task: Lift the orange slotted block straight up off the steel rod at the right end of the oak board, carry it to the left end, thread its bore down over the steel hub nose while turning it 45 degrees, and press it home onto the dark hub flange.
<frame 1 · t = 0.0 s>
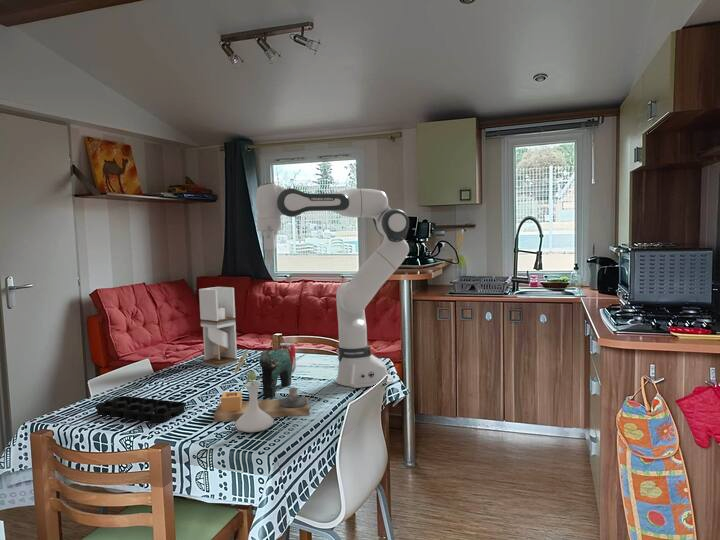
hand: (270, 262, 195), 48 cm above the table, tool pointing down, fingers open, 8 cm apart
flower in vase: (253, 430, 154), on the table
white block sculpture: (220, 364, 237), on the table
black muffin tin: (141, 415, 171), on the table
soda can: (287, 371, 220), on the table
green animal figurine: (276, 391, 192), on the table
base board: (263, 411, 170), on the table
orange slotted block: (232, 408, 168), point 2 cm above the table, touching base board
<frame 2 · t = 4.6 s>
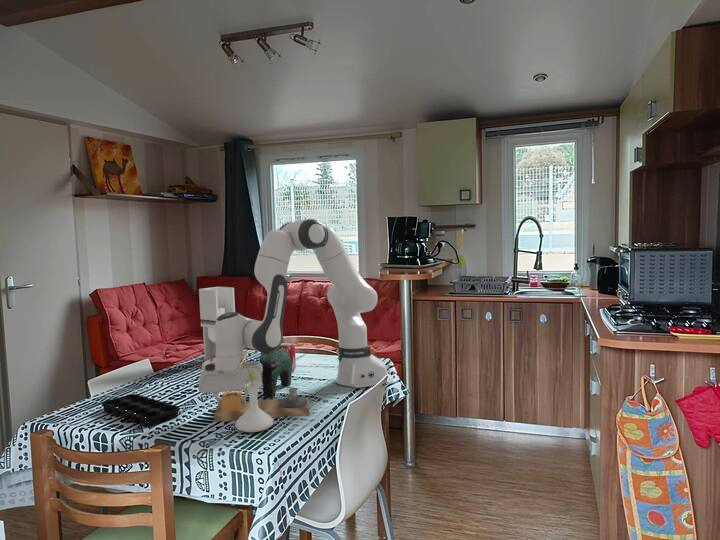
hand: (231, 404, 168), 3 cm above the table, tool pointing down, fingers closed on orange slotted block, 6 cm apart
orange slotted block: (232, 408, 168), point 2 cm above the table, touching base board, gripper
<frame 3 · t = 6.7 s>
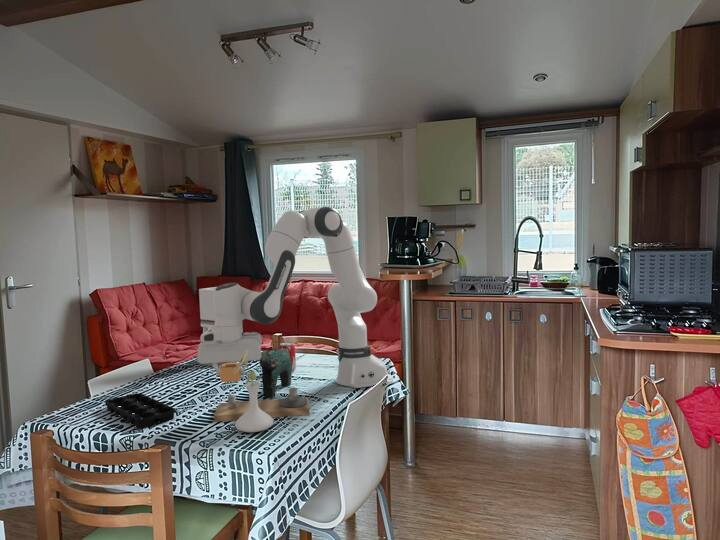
hand: (230, 375, 168), 13 cm above the table, tool pointing down, fingers closed on orange slotted block, 6 cm apart
orange slotted block: (231, 379, 168), point 12 cm above the table, touching gripper
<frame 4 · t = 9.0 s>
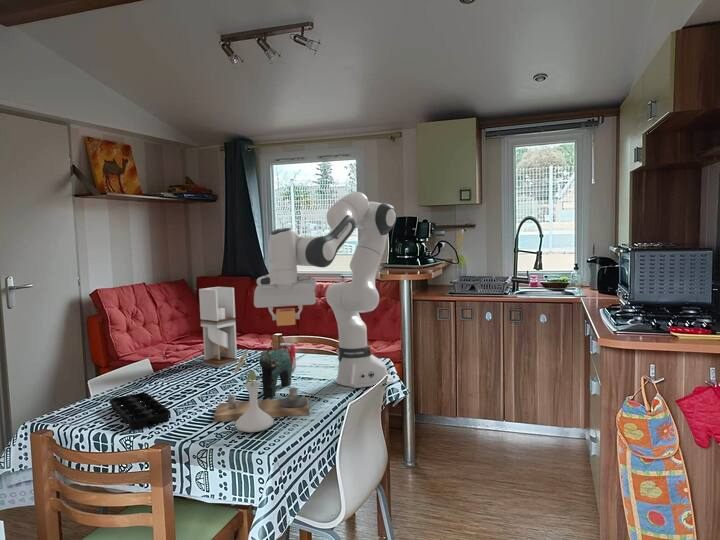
hand: (286, 319, 169), 30 cm above the table, tool pointing down, fingers closed on orange slotted block, 6 cm apart
orange slotted block: (286, 323, 169), point 29 cm above the table, touching gripper
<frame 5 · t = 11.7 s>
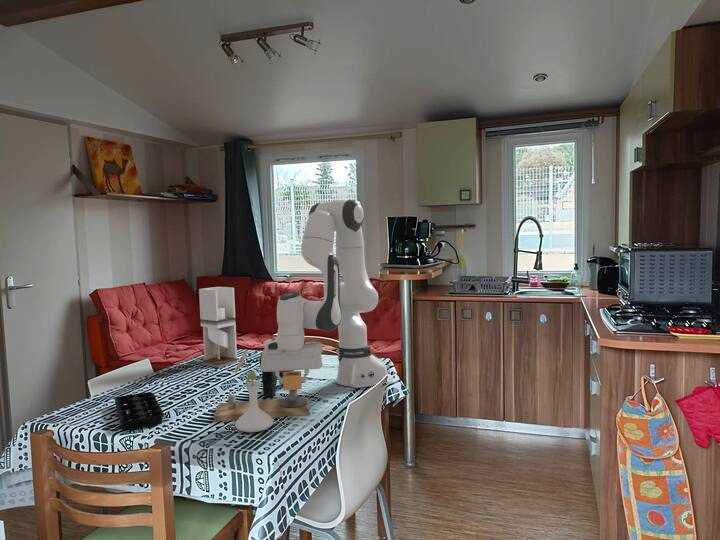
hand: (292, 383, 170), 9 cm above the table, tool pointing down, fingers closed on orange slotted block, 6 cm apart
orange slotted block: (292, 387, 170), point 8 cm above the table, touching gripper
when the fingers open (4 cm above the table, at t = 13.7 s): orange slotted block stays where it is, resting on base board.
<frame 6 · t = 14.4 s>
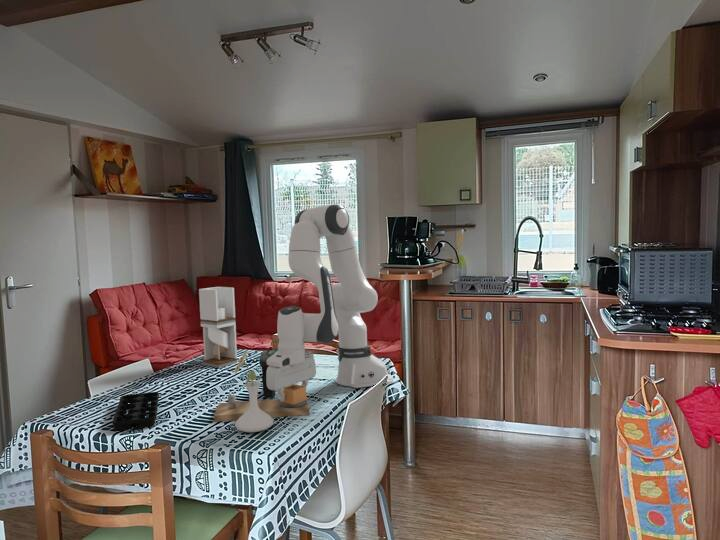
hand: (293, 396, 171), 4 cm above the table, tool pointing down, fingers open, 8 cm apart
orange slotted block: (293, 400, 171), point 3 cm above the table, touching base board
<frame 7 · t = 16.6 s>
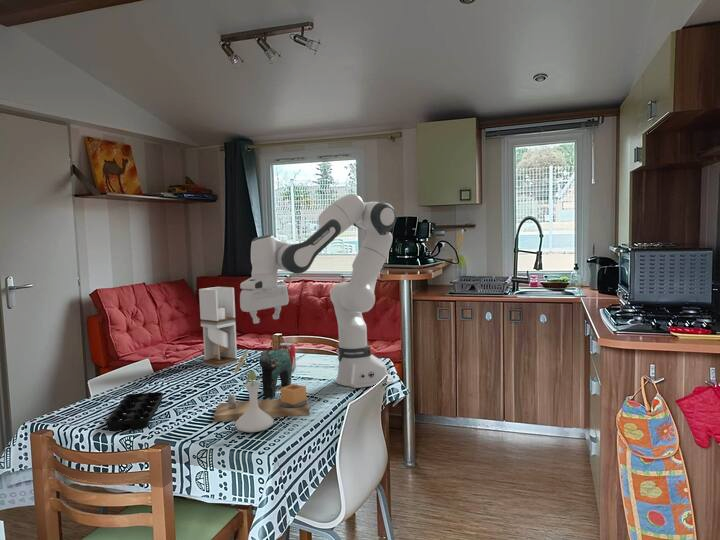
hand: (266, 321, 180), 28 cm above the table, tool pointing down, fingers open, 8 cm apart
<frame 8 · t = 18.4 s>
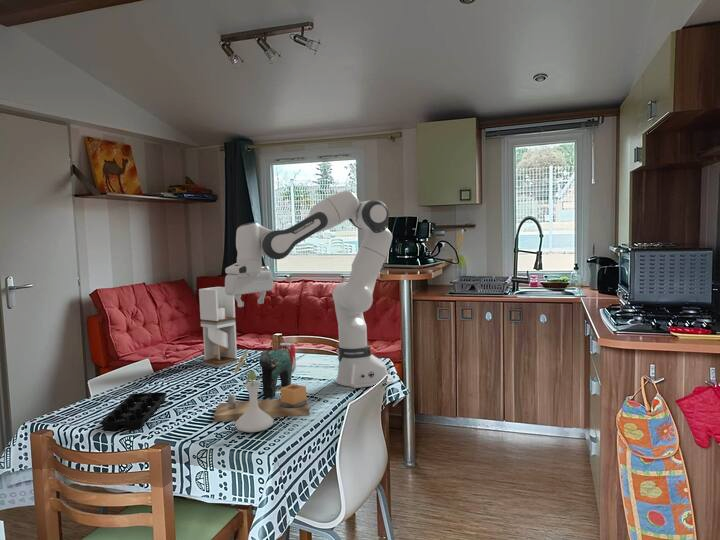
hand: (251, 305, 187), 33 cm above the table, tool pointing down, fingers open, 8 cm apart
at the end: orange slotted block 0.1 cm from the target spot on the base board, point 3.0 cm above the base board's base; the gripper is holding nothing; orange slotted block tilted 0° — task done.
